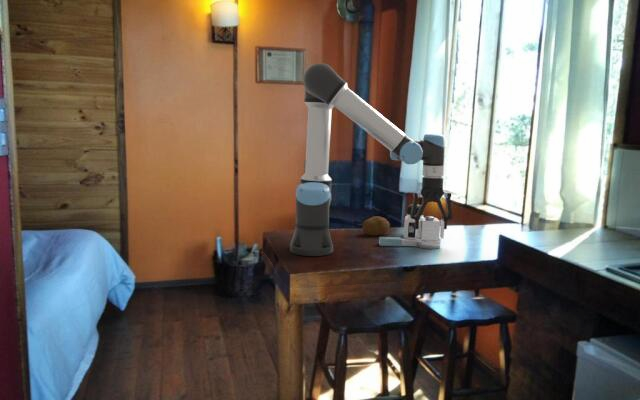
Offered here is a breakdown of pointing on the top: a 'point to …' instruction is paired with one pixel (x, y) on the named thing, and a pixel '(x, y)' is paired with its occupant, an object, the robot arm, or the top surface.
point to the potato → (375, 226)
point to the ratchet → (409, 242)
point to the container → (411, 224)
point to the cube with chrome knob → (430, 228)
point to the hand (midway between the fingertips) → (430, 237)
